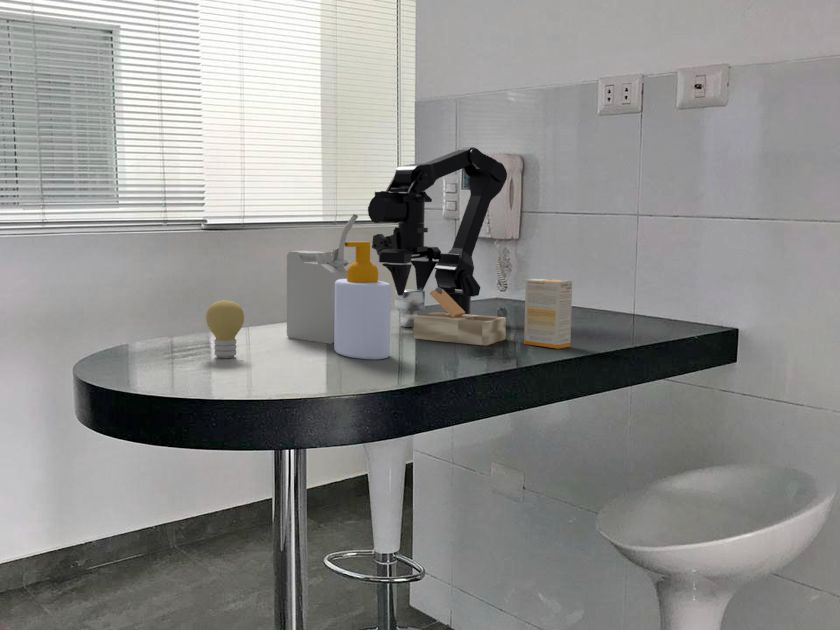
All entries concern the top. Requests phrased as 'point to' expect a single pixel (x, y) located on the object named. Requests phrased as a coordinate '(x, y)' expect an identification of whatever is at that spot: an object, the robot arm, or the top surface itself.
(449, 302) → the orange knobbed panel
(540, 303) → the supplement box
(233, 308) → the light bulb
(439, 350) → the top surface
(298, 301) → the fuel canister
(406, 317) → the silver metal cylinder
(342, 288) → the soap bottle
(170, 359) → the top surface
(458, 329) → the block
